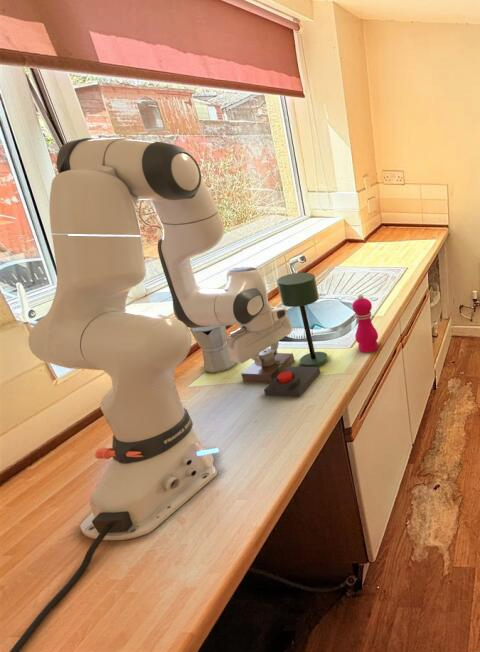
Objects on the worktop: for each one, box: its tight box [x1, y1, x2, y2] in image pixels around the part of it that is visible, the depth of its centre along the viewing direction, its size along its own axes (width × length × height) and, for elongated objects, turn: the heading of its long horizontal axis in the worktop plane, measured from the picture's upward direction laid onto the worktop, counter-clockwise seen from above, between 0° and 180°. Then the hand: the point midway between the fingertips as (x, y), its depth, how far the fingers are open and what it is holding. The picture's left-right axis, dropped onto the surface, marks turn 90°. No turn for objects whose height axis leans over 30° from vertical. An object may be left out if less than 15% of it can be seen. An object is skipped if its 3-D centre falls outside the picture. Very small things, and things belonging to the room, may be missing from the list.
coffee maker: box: [189, 326, 237, 374], centre depth 124 cm, size 15×9×18 cm, turn 34°
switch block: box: [263, 365, 321, 398], centre depth 117 cm, size 12×10×4 cm
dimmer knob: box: [258, 348, 275, 366], centre depth 122 cm, size 4×4×4 cm
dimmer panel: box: [240, 352, 295, 384], centre depth 123 cm, size 12×9×3 cm
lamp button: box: [278, 371, 293, 383], centre depth 113 cm, size 4×4×2 cm
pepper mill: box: [351, 294, 379, 354], centre depth 134 cm, size 7×7×20 cm
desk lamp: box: [276, 272, 329, 368], centre depth 123 cm, size 10×10×29 cm
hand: (267, 360), depth 122 cm, fingers closed on dimmer knob, 4 cm apart
